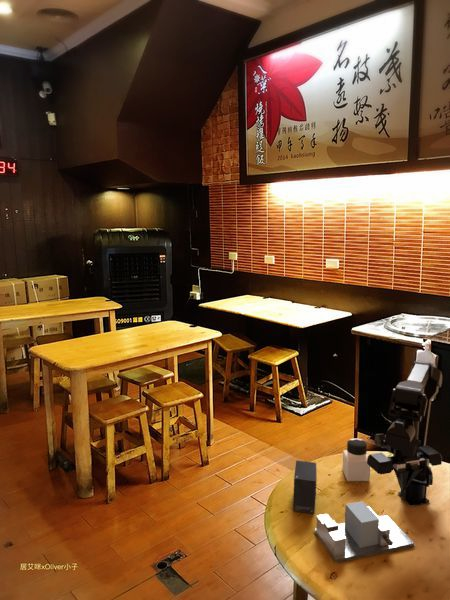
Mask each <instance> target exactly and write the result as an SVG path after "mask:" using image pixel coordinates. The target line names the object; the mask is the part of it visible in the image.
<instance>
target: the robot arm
mask: <svg viewBox="0 0 450 600" xmlns="http://www.w3.org/2000/svg"><path fill="white" fill-rule="evenodd" d="M442 384H443V373H442V371H441V370H440V369H439V368H437V367H435V366H434V363H431V362H430V361H429V362H428V361H422V360H414V361H413V365H411V366H410V370H409V375H408V377H407V378H406V380H404V381H400V382H398V384H397V385H396V386H395V388H393V389H392V392H391V396H390V397H391V398H390V400H389V401H390V402H389V405H388V412H387V415H388V416H390V417H393V421H392V423H391V425H389V428H388V429H387V431H386V433H385V434H384V433H376V434H375V435H374V444H375V446H376V447H381V449H387V452H388V453H389V454H392V455H391V456H386V454H384V453H383V452H375V453H370V454H368V455H367V456H368V458H367V464H368V465H369V466H370V469H372V470H373V471H374V472H375V473H377V474H378V475H388V474H391V473H392V471H393V472H394V475H395V476H396V479H397V482H398V486H399V489H400V491H398V493H397V495H398V496H400V497H401V498H402V499H403V500H404V501H405V502H406V503H407V504H408V505H409V506H411V507H413V506H418V505H424V504H429V503H430V500H429V499H428V498H427V490H428V489H427V488H429V487H430V486H431V485H433V484H434V475H433V471H432V467H434V466H439V465H442V463H443V456H442V454H441V453H440V452H439V451H437V450H436V449H435V448H433V447H431V446H430V445H426V444H427V435H428V428H429V419H430V413H431V405H432V401H433V399H434V397H436V396H437V394H438V393H439V388H441V387H442ZM394 407H395V408H394ZM431 466H432V467H431Z"/></svg>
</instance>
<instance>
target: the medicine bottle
mask: <svg viewBox="0 0 450 600" xmlns="http://www.w3.org/2000/svg"><path fill="white" fill-rule="evenodd" d="M346 445H347V446H346V447H347V449H343V450H342V468H341V469H342V473H343V475H344V476H345V479H346V481H347V482H369V481H370V479H371V478H370V476H371V467H370V466H369V465H368V464H367V458H368V456H369V455H368V454H367V452H368V451H367V449H368V448H367V447H368V444H367V442H366V441H365V440H363V439H361V438H357V437H356V438H350V439H349V440H347V444H346Z"/></svg>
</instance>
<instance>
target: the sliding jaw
mask: <svg viewBox="0 0 450 600" xmlns="http://www.w3.org/2000/svg"><path fill="white" fill-rule="evenodd" d="M367 507H368V508H369V509H370V510H371V511H372V512H373V513H374V514H375V515H376V516H377V517H378V518H379V515H377V513H376V512H375V511H374V509H372V508H371V507H370V506H369V505H368V506H367ZM378 544H379V545H380V547H381V546H386V545H389V546H392V545H393V542H392V541H391V539H390V528H389V527H388V526H387V525H386V524H385V523H384V522H383V521H382V520H381V519H380V518H379V535H378Z"/></svg>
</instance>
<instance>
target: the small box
mask: <svg viewBox="0 0 450 600" xmlns="http://www.w3.org/2000/svg"><path fill="white" fill-rule="evenodd" d="M317 477H318V476H317V462H315V461H314V462H311V461H305V460H304V461H303V460H299V459H298V460H295V467H294V475H293V499H292V500H293V501H292V511H293V512H299V513H305V514H315V507H316V499H317Z"/></svg>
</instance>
